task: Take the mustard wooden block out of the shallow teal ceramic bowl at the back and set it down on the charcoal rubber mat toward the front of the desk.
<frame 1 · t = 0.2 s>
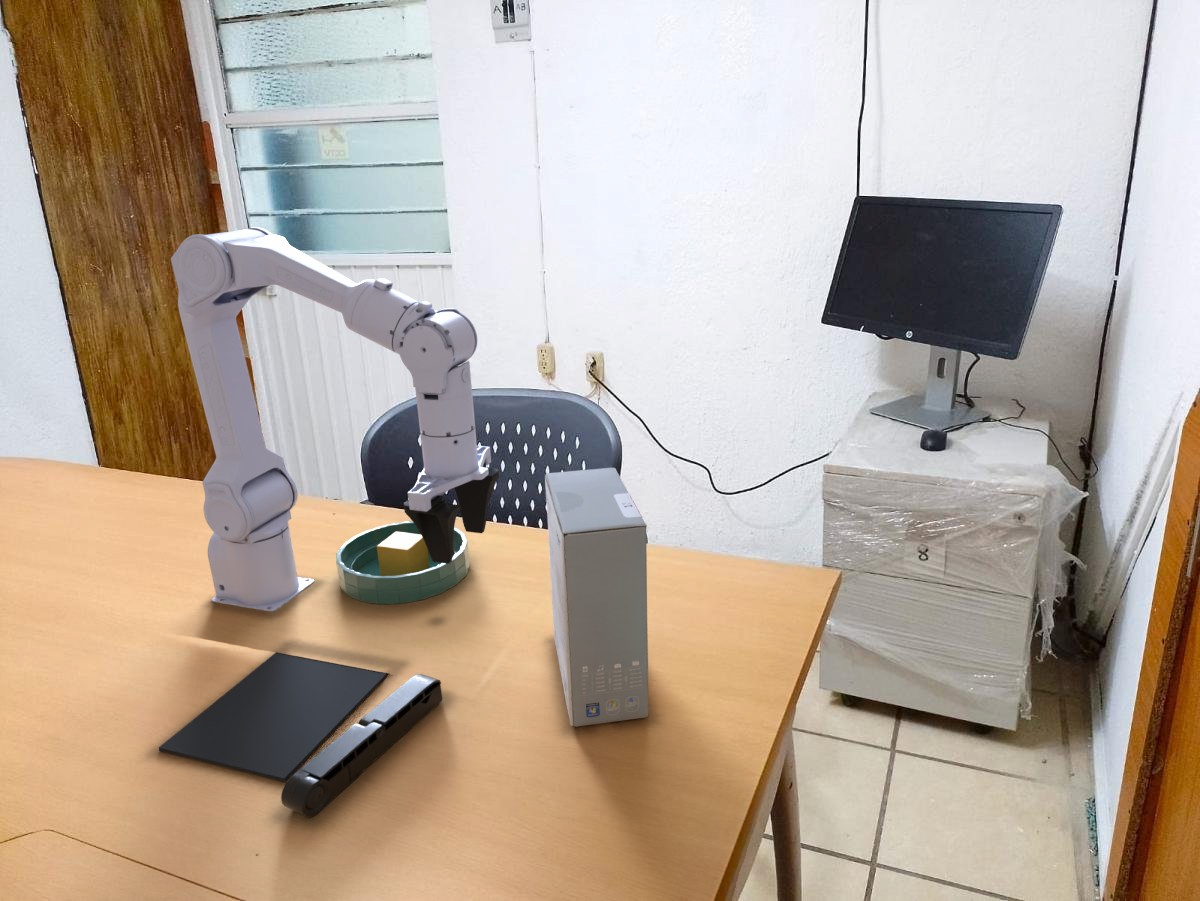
hand: (459, 545, 91), 10 cm above the table, tool pointing down, fingers open, 7 cm apart
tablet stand: (371, 754, 75), on the table
hard drive box: (598, 678, 84), on the table
mat: (286, 705, 82), on the table
bowl: (406, 575, 107), on the table
block: (405, 572, 106), resting on bowl
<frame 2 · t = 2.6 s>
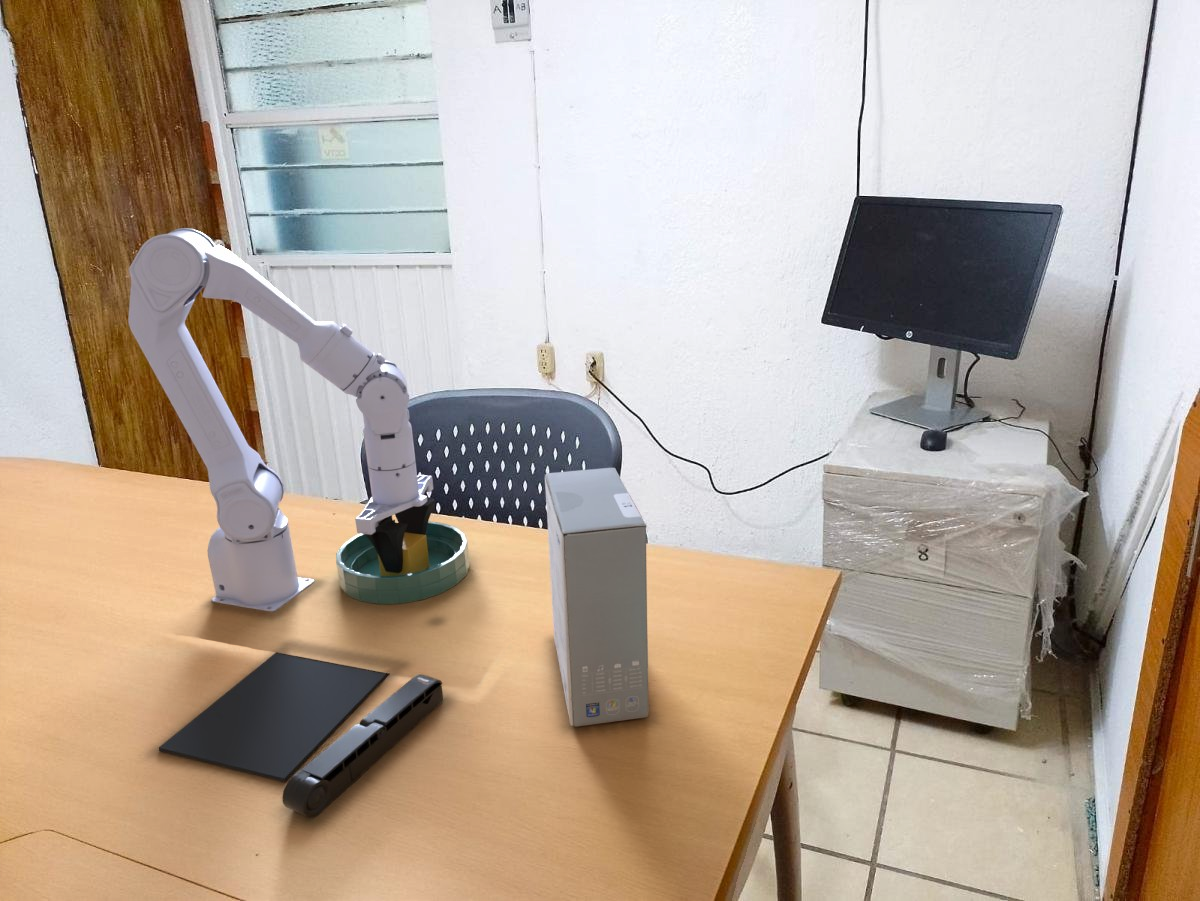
hand: (404, 562, 106), 2 cm above the table, tool pointing down, fingers closed on block, 4 cm apart
block: (405, 571, 106), point 1 cm above the table, touching bowl, gripper
everything else where it was.
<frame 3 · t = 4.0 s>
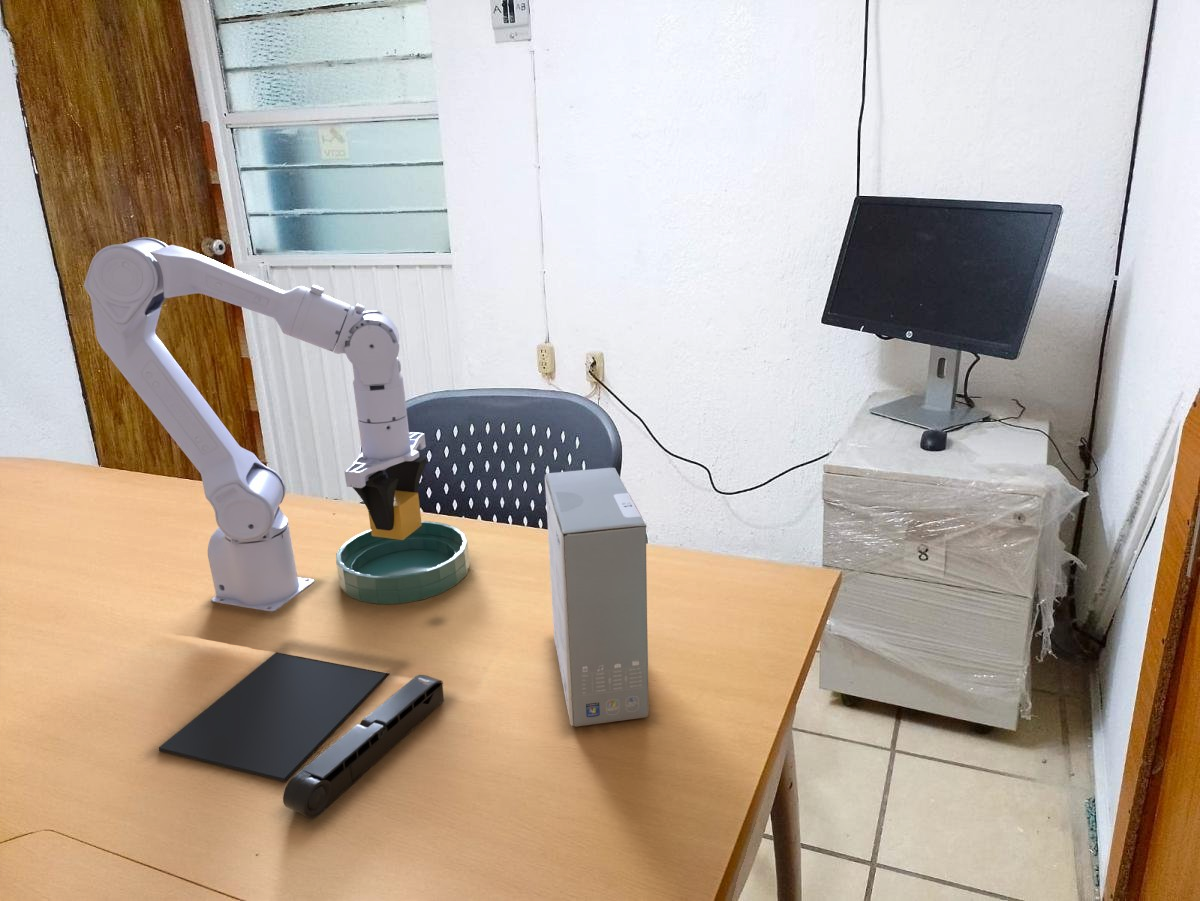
hand: (395, 520, 103), 8 cm above the table, tool pointing down, fingers closed on block, 4 cm apart
block: (397, 530, 104), point 7 cm above the table, touching gripper
everything else where it was.
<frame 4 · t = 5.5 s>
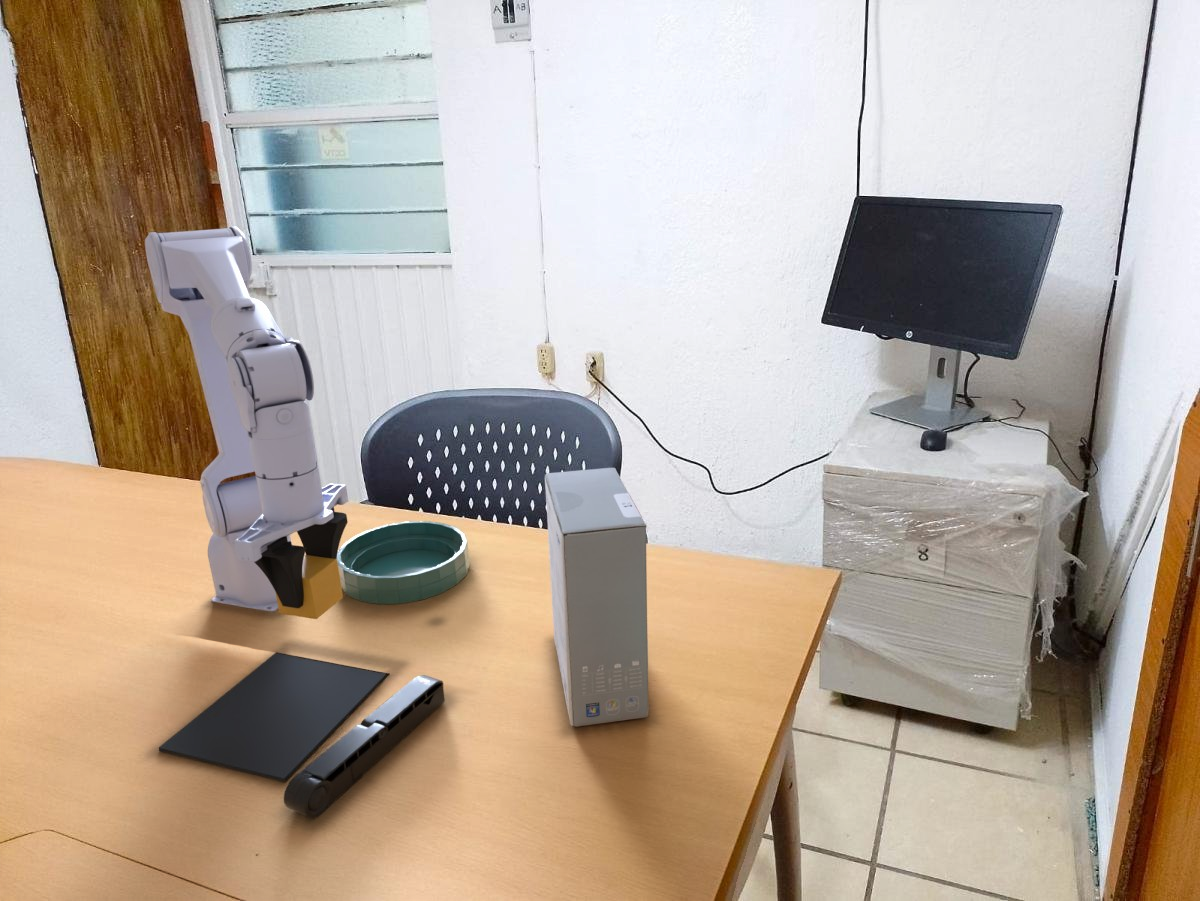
hand: (308, 593, 84), 9 cm above the table, tool pointing down, fingers closed on block, 4 cm apart
block: (311, 605, 85), point 8 cm above the table, touching gripper
everything else where it was.
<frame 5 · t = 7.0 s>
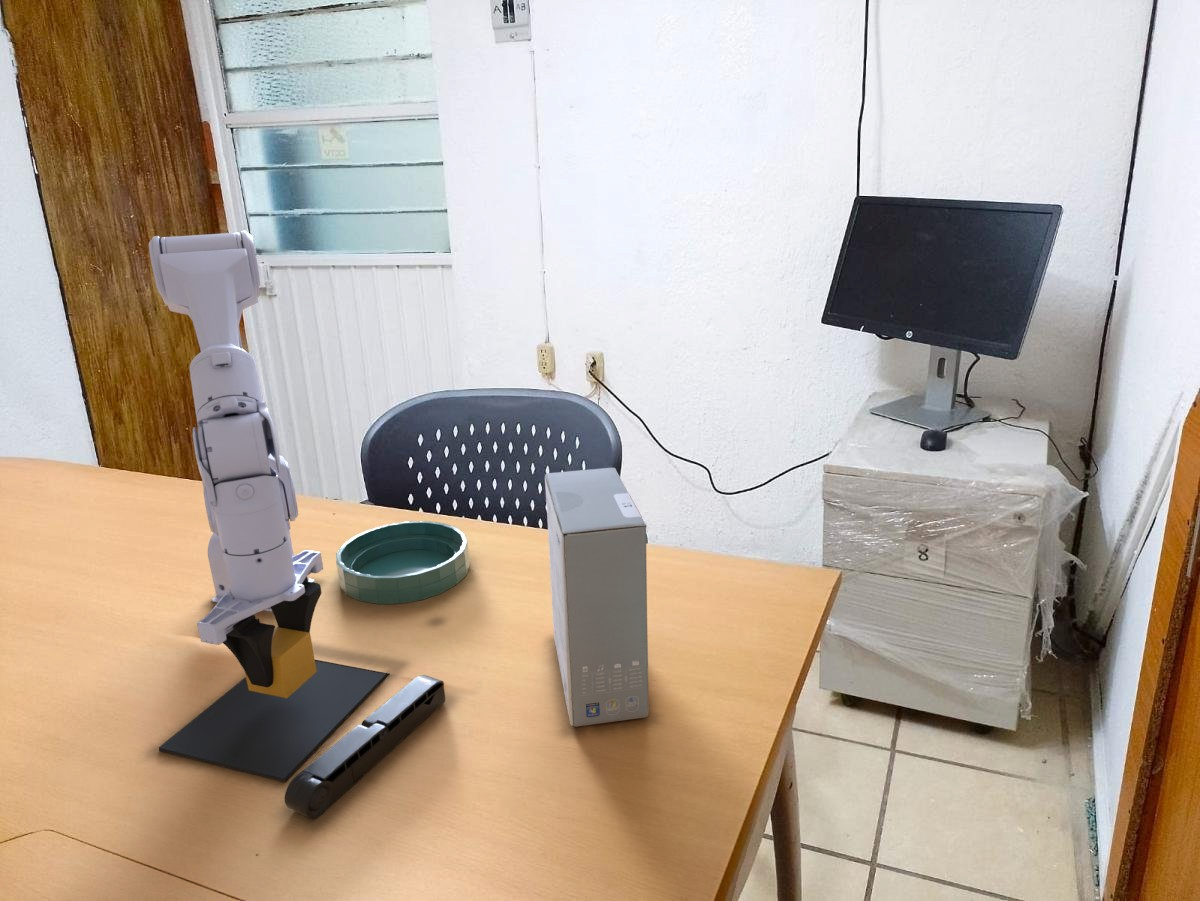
hand: (279, 669, 80), 4 cm above the table, tool pointing down, fingers closed on block, 4 cm apart
block: (283, 681, 81), point 3 cm above the table, touching gripper
everything else where it was.
when the fingers open (2 cm above the table, at t = 8.2 s): block stays where it is, resting on mat.
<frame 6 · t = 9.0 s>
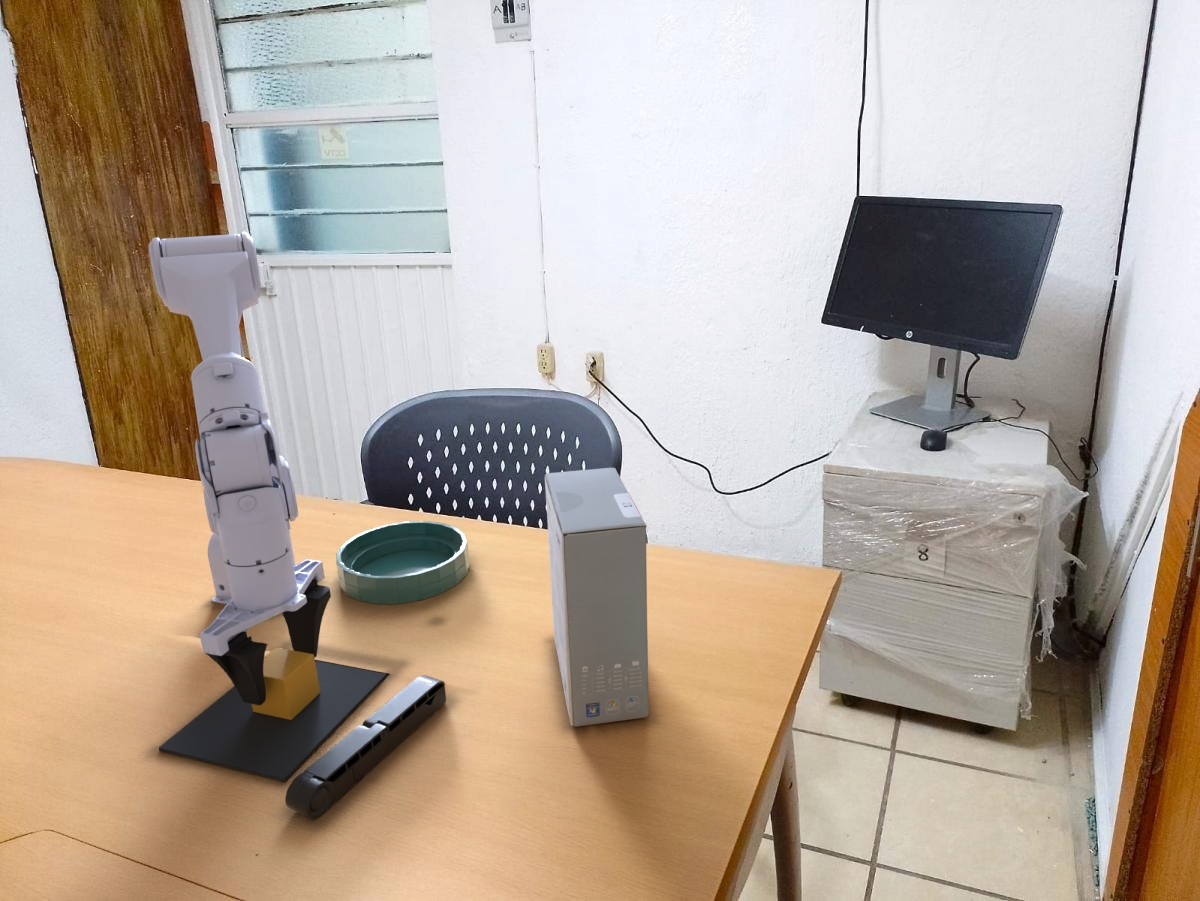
hand: (281, 678, 81), 3 cm above the table, tool pointing down, fingers open, 7 cm apart
block: (287, 702, 81), resting on mat
everything else where it was.
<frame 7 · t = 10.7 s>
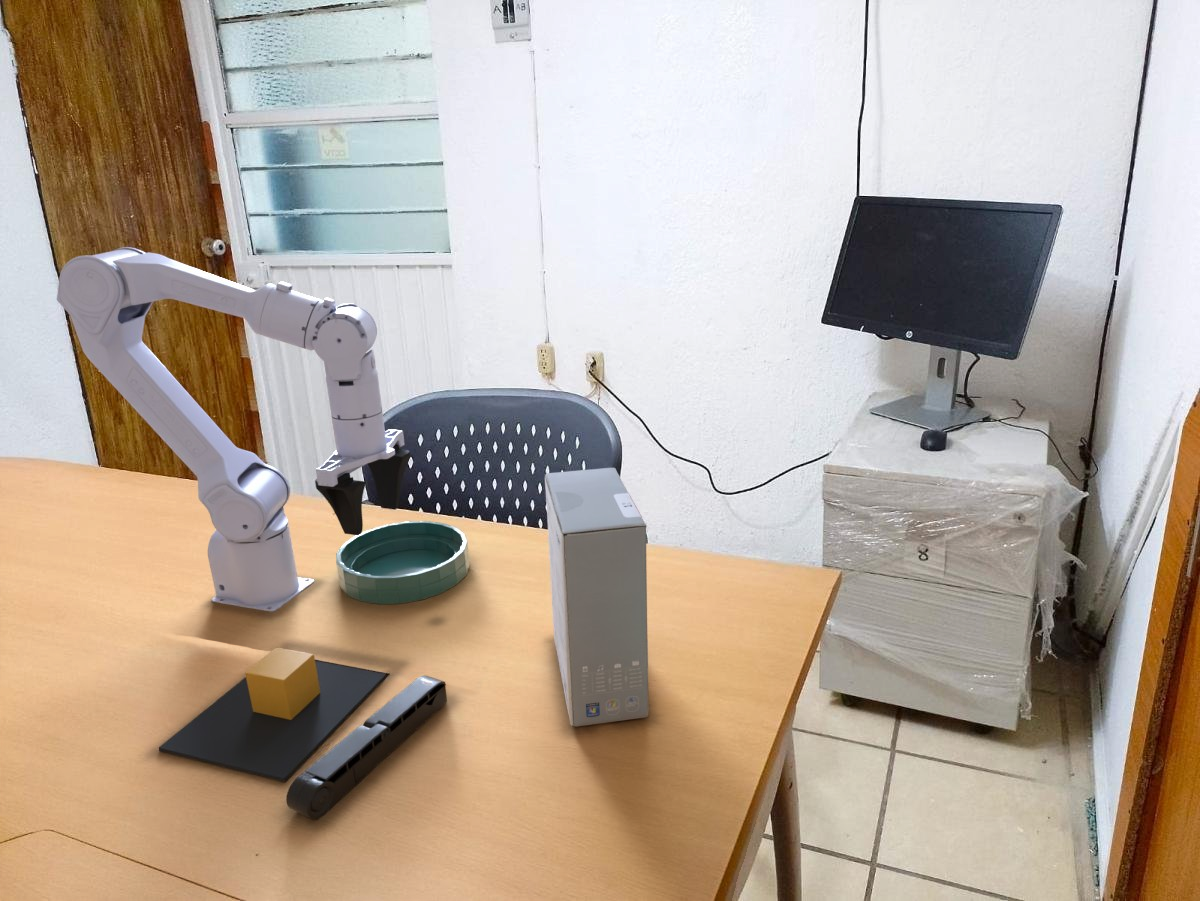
hand: (372, 520, 100), 9 cm above the table, tool pointing down, fingers open, 7 cm apart
nothing on the table moved.
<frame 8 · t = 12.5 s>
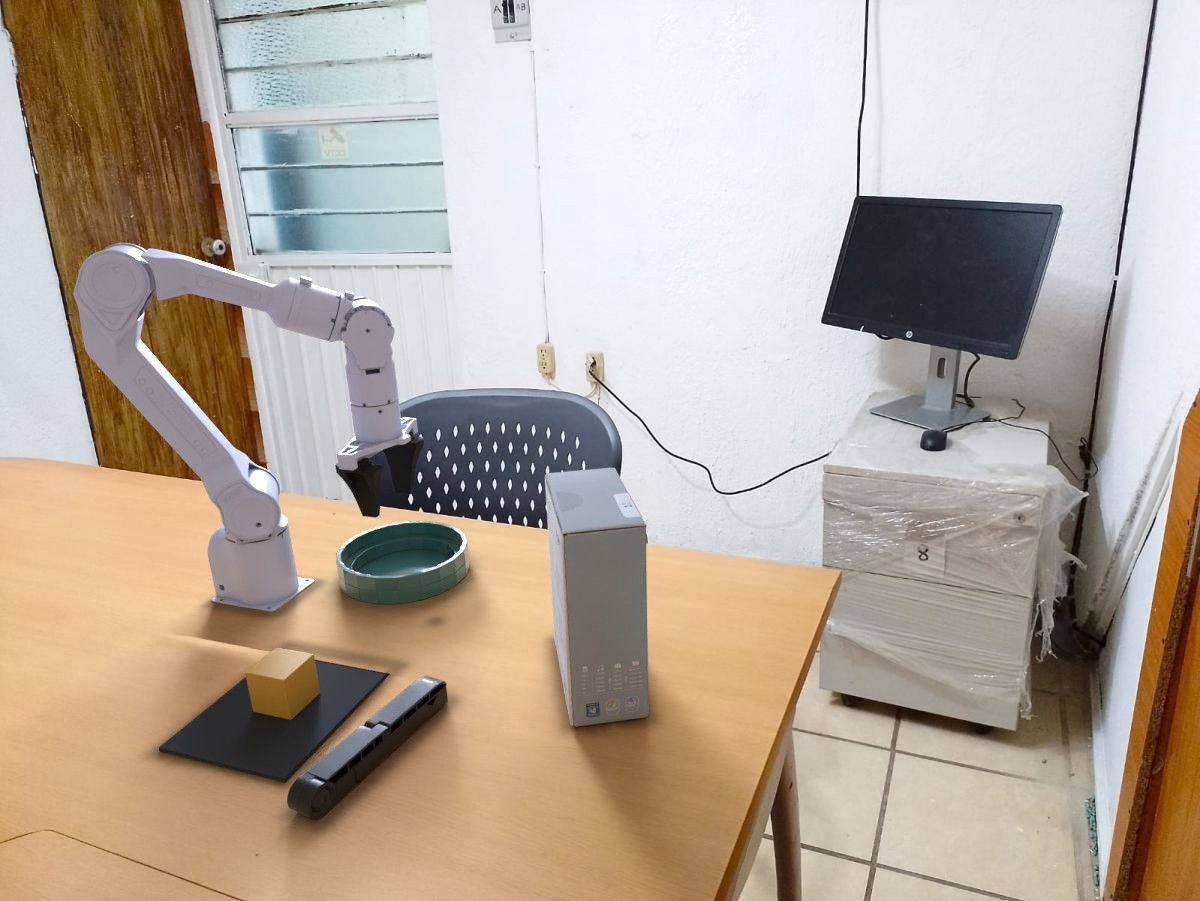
hand: (388, 503, 105), 9 cm above the table, tool pointing down, fingers open, 7 cm apart
nothing on the table moved.
at the end: block inside the target area on the mat (0.1 cm from its centre), point 0.4 cm above the mat's base; block tilted 0°; the gripper is holding nothing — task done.
